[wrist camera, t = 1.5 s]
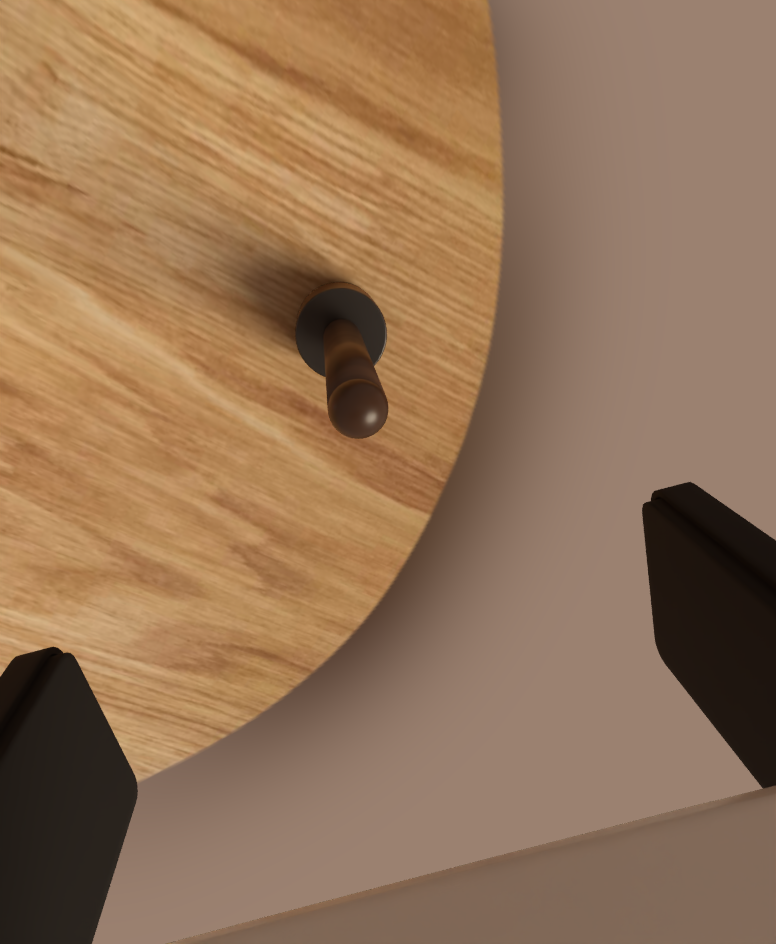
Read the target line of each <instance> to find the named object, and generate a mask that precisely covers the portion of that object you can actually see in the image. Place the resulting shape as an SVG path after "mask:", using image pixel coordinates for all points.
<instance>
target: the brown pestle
mask: <svg viewBox="0 0 776 944" xmlns="http://www.w3.org/2000/svg"><path fill="white" fill-rule="evenodd" d="M295 337H296V344H297V348H298V350H299V353H300V355H301V357H302V358H303V360H304V361H305V363H306V364H307V365H308V366H309V367H310V368H311V369H312V370H314V371H315V372H317V373H318V374H320V375H322V376H324V377H326V389H327V405H328V415H329V418H330V421H331V422H332V424H333V426H334V427H335V429H336V430H337V431H339V432H340V433H341V434H343V435H345V436H347V437H350V438H355V439H363V438H367V437H369V436H372V435H374V434H375V433H376V432H378V431H379V430H380V429H381V428H382V426H383V425H384V423H385V421H386V419H387V415H388V402H387V398H386V395H385V393H384V391H383V388H382V386H381V383H380V381H379V378H378V376H377V373H376V371H375V368H374V366H375V364H376V363H377V362H378V361H379V359H380V358H381V356H382V354H383V351H384V349H385V345H386V340H387V329H386V323H385V320H384V317H383V315H382V313H381V311H380V309H379V308H378V306H377V305H376V303H375V302H374V301H373V299H372V298H371V297H370V296H369V295H368V294H367V293H366V292H365V291H364V290H362V289H361V288H359V287H357V286H355V285H352V284H349V283H344V282H333V283H328V284H325V285H322V286H320V287H318V288H317V289H315V290H314V291H312V292H311V293H310V294H309V295H308V296H307V297H306V299H305V300H304V302H303V303H302V305H301V307H300V310H299V313H298V318H297V323H296V329H295Z"/></svg>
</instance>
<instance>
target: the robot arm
mask: <svg viewBox="0 0 776 944" xmlns="http://www.w3.org/2000/svg"><path fill="white" fill-rule="evenodd" d="M642 514H643V524H644V534H645V545H646V555H647V565H648V575H649V585H650V595H651V605H652V615H653V624H654V635H655V642H656V646H657V649H658V651H659V654H660V656H661V658H662V660H663V661H664V663H665V664H666V666H667V667H668V668H669V669H670V670H671V672H672V673H673V674H674V676H675V677H676V678H677V680H678V681H679V682H680V683H681V685H682V686H683V687H684V688H685V690H686V691H687V692H688V694H689V695H690V696H691V697H692V699H693V700H694V701H695V703H696V704H697V705H698V706H699V707H700V709H701V710H702V711H703V713H704V714H705V715H706V717H707V718H708V719H709V720H710V722H711V723H712V724H713V725H714V727H715V728H716V729H717V731H718V732H719V733H720V734H721V736H722V737H723V738H724V739H725V741H726V742H727V743H728V745H729V746H730V747H731V748H732V750H733V751H734V752H735V753H736V755H737V756H738V757H739V759H740V760H741V761H742V762H743V764H744V765H745V766H746V767H747V769H748V770H749V771H750V773H751V774H752V775H753V776H754V778H755V779H756V780H757V781H758V783H759V784H760V785H761V787H762V788H763V789H760V790H756V791H753V792H748V793H744V794H741V795H737V796H733V797H729V798H725V799H721V800H716V801H712V802H708V803H703V804H699V805H695V806H691V807H687V808H683V809H679V810H675V811H671V812H667V813H663V814H659V815H656V816H652V817H648V818H644V819H640V820H636V821H632V822H628V823H624V824H620V825H616V826H613V827H609V828H605V829H601V830H597V831H593V832H589V833H585V834H582V835H578V836H574V837H570V838H566V839H562V840H558V841H554V842H550V843H546V844H542V845H539V846H535V847H531V848H527V849H523V850H519V851H515V852H511V853H507V854H504V855H500V856H496V857H492V858H488V859H484V860H480V861H477V862H473V863H469V864H465V865H461V866H458V867H454V868H450V869H446V870H442V871H439V872H435V873H431V874H427V875H423V876H419V877H416V878H412V879H408V880H404V881H400V882H396V883H393V884H389V885H385V886H381V887H378V888H374V889H370V890H366V891H362V892H359V893H355V894H351V895H347V896H343V897H339V898H336V899H332V900H328V901H324V902H320V903H317V904H313V905H309V906H305V907H302V908H298V909H294V910H290V911H287V912H283V913H279V914H275V915H271V916H267V917H264V918H260V919H256V920H252V921H249V922H245V923H241V924H237V925H234V926H230V927H226V928H223V929H219V930H216V931H211V932H208V933H204V934H200V935H197V936H193V937H189V938H185V939H182V940H178V941H175V942H171V943H167V944H776V541H775V540H774V539H773V538H771V537H769V536H768V535H767V534H766V533H764V532H763V531H761V530H760V529H758V528H757V527H756V526H754V525H753V524H751V523H750V522H748V521H747V520H746V519H744V518H743V517H741V516H740V515H738V514H737V513H735V512H734V511H733V510H731V509H730V508H728V507H727V506H725V505H724V504H723V503H721V502H720V501H718V500H717V499H715V498H714V497H712V496H711V495H710V494H708V493H707V492H705V491H704V490H703V489H701V488H700V487H698V486H697V485H695V484H694V483H691V482H688V483H683V484H679V485H676V486H672V487H668V488H664V489H660V490H657V491H654V492H653V493H652V497H651V501H650V502H646V503H644V504H643V508H642ZM137 792H138V790H137V782H136V778H135V775H134V773H133V771H132V769H131V767H130V765H129V763H128V761H127V759H126V757H125V755H124V753H123V751H122V749H121V747H120V745H119V743H118V741H117V739H116V737H115V735H114V733H113V731H112V729H111V727H110V725H109V723H108V721H107V719H106V717H105V715H104V714H103V712H102V710H101V708H100V706H99V704H98V702H97V700H96V698H95V696H94V694H93V692H92V690H91V688H90V686H89V684H88V682H87V680H86V678H85V676H84V674H83V672H82V670H81V668H80V666H79V664H78V662H77V660H76V659H75V657H74V656H73V655H72V654H71V653H63V652H62V651H61V650H60V649H59V648H56V647H50V648H46V649H42V650H39V651H35V652H31V653H27V654H23V655H20V656H16V657H15V658H14V659H13V660H12V661H11V662H10V664H9V665H8V667H7V668H6V670H5V671H4V672H3V674H2V675H1V677H0V944H92V941H93V938H94V935H95V932H96V928H97V925H98V922H99V919H100V916H101V912H102V909H103V906H104V903H105V900H106V897H107V893H108V890H109V887H110V884H111V880H112V877H113V874H114V871H115V868H116V864H117V861H118V858H119V855H120V851H121V849H122V845H123V842H124V839H125V836H126V833H127V829H128V826H129V823H130V820H131V817H132V813H133V810H134V807H135V804H136V800H137Z"/></svg>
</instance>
